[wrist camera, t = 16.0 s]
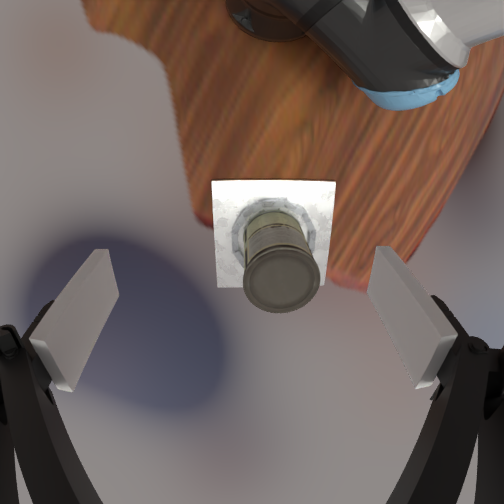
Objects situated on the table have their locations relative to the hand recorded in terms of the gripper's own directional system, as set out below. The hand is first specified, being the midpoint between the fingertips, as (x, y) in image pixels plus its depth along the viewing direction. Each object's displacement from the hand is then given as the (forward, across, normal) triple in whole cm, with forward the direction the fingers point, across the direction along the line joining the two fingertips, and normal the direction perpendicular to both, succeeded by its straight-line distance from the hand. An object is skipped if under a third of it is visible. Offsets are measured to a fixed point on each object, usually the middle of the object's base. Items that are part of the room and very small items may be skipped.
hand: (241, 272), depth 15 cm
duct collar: (+37, +5, -15) cm, 40 cm away
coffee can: (+36, +5, -15) cm, 39 cm away
